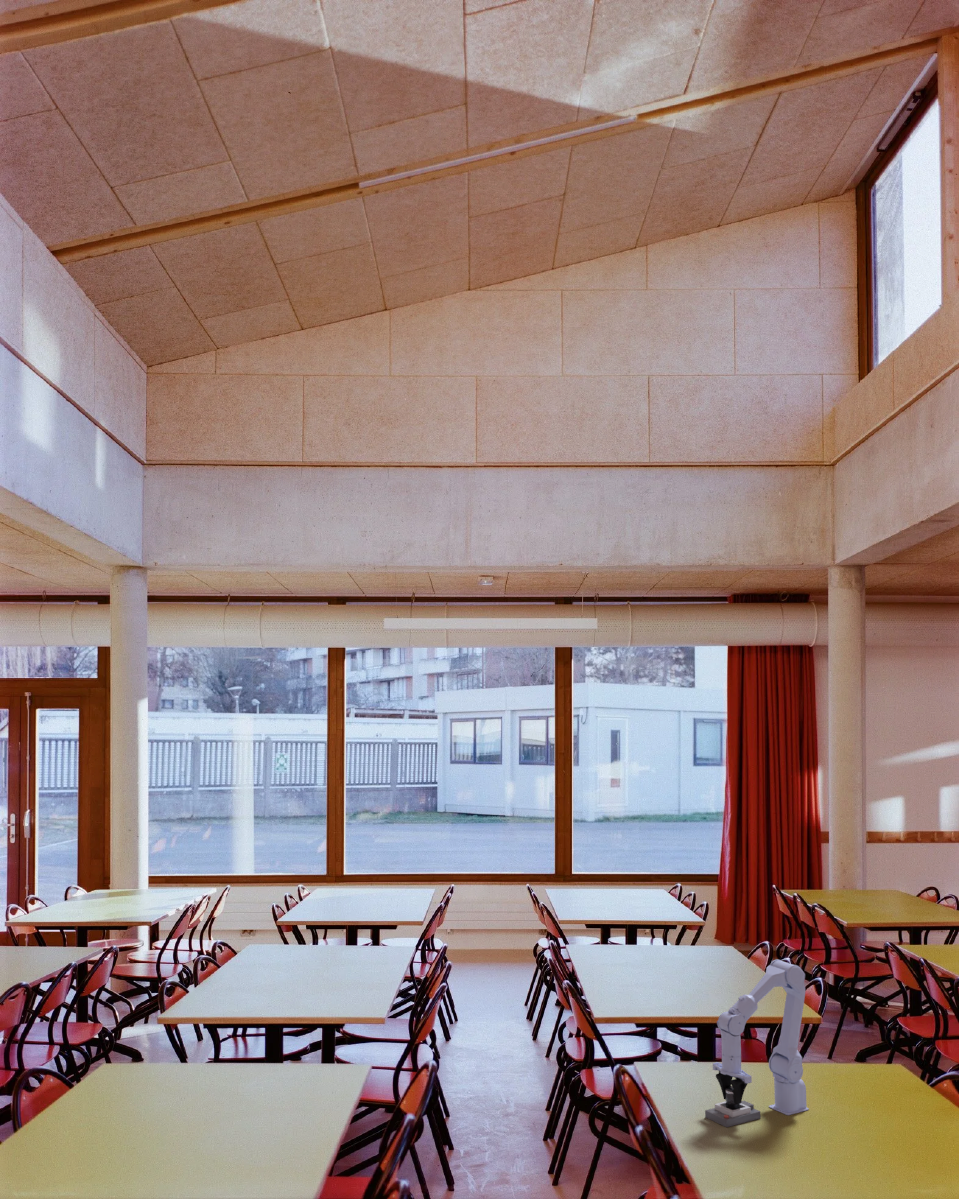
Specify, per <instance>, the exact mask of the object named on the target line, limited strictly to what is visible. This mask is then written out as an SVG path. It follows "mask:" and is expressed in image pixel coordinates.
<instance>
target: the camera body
mask: <svg viewBox="0 0 959 1199" xmlns="http://www.w3.org/2000/svg"><path fill="white" fill-rule="evenodd" d="M704 1113H705V1114H704V1117H705V1118H706V1119H708V1120H711V1121H712V1122H715V1123H716V1124H719V1125H720V1126H723V1127H724V1128H729V1127H733V1126H737V1125H740V1124H745V1123H748V1122H753V1121H755V1120H759V1119H760V1120H761V1111H760V1110H758V1109H755V1105H754V1104H752V1103H751V1102H748V1101H746V1100H742V1101H741V1104H740V1109H736V1110H731V1109H728V1108H726V1100H725V1101H722V1102H721V1101H720V1102H718V1103H714V1107H713V1108H710V1109H709V1108H708V1109H706V1110H705V1111H704Z"/></svg>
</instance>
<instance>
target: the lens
mask: <svg viewBox="0 0 959 1199" xmlns="http://www.w3.org/2000/svg"><path fill="white" fill-rule="evenodd" d="M725 1101H726V1108H728V1109H731V1110H736V1109H740V1104H735V1103H734V1093H733V1088H732V1085H731V1086H728V1087H726V1100H725Z"/></svg>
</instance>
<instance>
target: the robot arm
mask: <svg viewBox="0 0 959 1199" xmlns="http://www.w3.org/2000/svg"><path fill="white" fill-rule="evenodd" d="M765 969H766V970H765V974H764V975H763V976H762V977H761V978H760V980H759V981H758V982H757V983H756V985H755V986H754V988H753V989H752V990H751V991H750V992H749V994H742V995H740V996H739V997H738V1000H737V1001H736V1002H735V1003H734V1004H733V1005H732V1006H731V1007H729V1009H728V1010H727V1011H723V1012H722V1013H721V1014H720V1015H719V1017H718V1018H717V1019H718V1020H716V1025H717V1027H718V1029H719V1031H720V1032H719V1033H720V1035H721V1062H717V1061H716V1062H713V1063H712V1070H713V1071H718V1073H716V1074H715V1079H716V1080H717V1082H718V1083H719V1086H720V1088H721V1093H722V1097H723V1099H724V1100H725V1101H726V1087H728V1086H732V1088H733V1093H734V1103H735V1104H741V1101H743V1100H742V1099H743V1096H744V1092H745V1090H746V1087H747V1086H748V1084H751V1083H752V1082H753V1081H752V1075H750V1074H748V1073H747V1072H746V1071H744V1070H743V1069H742V1045H741V1043H742V1041H741V1034H742V1033H743V1032H744V1031H745V1026H746V1024H747V1021H748V1020H750V1018H751V1017H752V1016H753V1015H754V1014H755V1012H757V1010H758V1008H759V1006H758V1003H759V1002H760V1001H761V1000H762V999H763V998H765V997H766V996H767V995H768V994H769V993H770V992H771V991H772V990H773V989H774V988H778V987H782V988H783V990H784V991H785V993H786V995H785V1002H784V1010H783V1017H782V1023H781V1030H780V1036H779V1044H777V1045H776V1046H775V1047H773V1048H772V1054H771V1055H770V1057H769V1059H768V1068H769V1071H770V1072H771V1073H772V1077H773V1081H774V1082H773V1087H774V1088H773V1089H774V1104H770V1105H768V1108H769V1109H772V1110H774V1111H777V1112H779V1113H782V1114H783V1115H786V1116H791V1115H794V1114H795V1115H796V1114H798V1113H803V1112H805V1111H806V1112H807V1111H809V1109H810V1108H809V1107H807V1105H808V1104H807V1088H806V1084H805V1082H804V1081H803V1079H802V1077H803V1074H804V1068H803V1056H802V1055H801V1053H800V1051H799V1050H798V1047H799V1046H798V1045H799V1041H800V1033H801V1027H802V1026H801V1025H802V1019H803V1018H802V1017H803V1010H804V1005H805V999H806V998H805V997H806V986H805V979H806V973H805V971H803V969H802V967H800V966H799V965H797V964H791V963H789V962H786V961H783V960H781V959H774V960H772V961H771V963H770V964H769V965H768V966H767V967H766V968H765ZM734 1078H735V1079H734Z"/></svg>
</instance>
